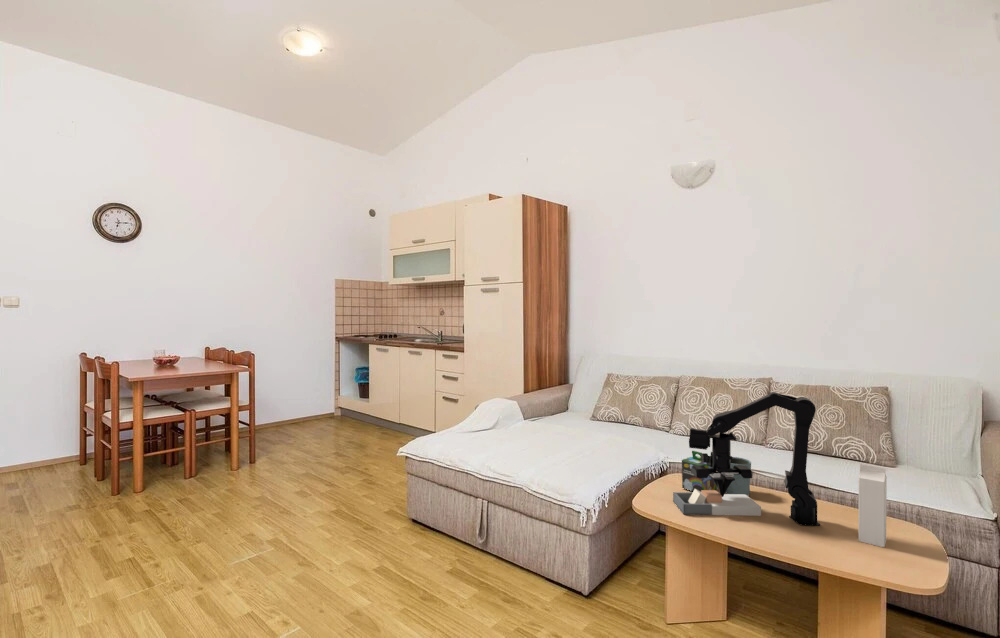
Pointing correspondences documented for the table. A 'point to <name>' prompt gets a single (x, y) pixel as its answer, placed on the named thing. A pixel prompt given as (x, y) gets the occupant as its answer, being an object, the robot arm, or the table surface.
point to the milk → (872, 505)
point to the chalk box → (690, 480)
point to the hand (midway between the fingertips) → (721, 496)
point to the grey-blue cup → (739, 478)
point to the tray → (690, 505)
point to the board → (736, 506)
